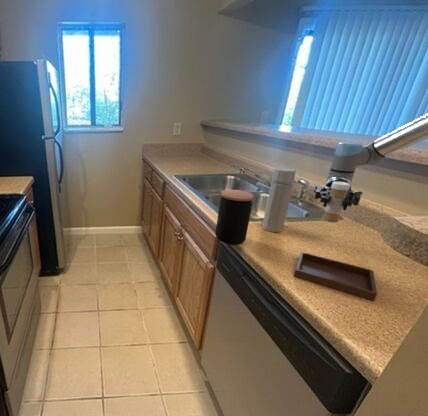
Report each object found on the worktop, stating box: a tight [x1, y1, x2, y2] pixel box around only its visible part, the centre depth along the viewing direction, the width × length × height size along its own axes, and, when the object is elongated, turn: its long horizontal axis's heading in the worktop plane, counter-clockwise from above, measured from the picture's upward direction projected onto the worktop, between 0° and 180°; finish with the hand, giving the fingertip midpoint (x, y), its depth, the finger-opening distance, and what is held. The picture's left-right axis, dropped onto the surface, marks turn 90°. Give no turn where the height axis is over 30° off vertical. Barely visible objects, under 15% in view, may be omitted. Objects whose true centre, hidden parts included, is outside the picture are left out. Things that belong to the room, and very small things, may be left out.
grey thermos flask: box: [262, 166, 297, 233], centre depth 107 cm, size 9×8×25 cm
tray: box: [293, 251, 378, 302], centre depth 81 cm, size 18×14×2 cm
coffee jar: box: [214, 189, 255, 245], centre depth 102 cm, size 11×11×18 cm
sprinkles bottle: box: [321, 182, 350, 224], centre depth 92 cm, size 5×5×13 cm
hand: (335, 204), depth 88 cm, fingers closed on sprinkles bottle, 4 cm apart
